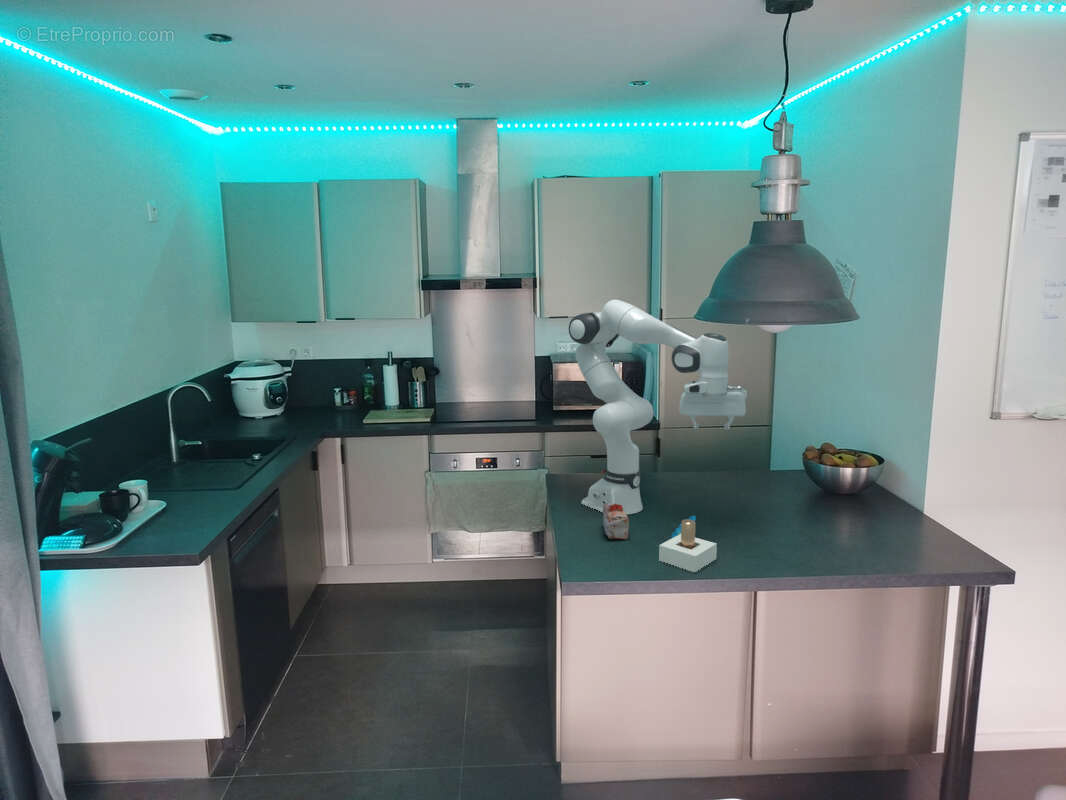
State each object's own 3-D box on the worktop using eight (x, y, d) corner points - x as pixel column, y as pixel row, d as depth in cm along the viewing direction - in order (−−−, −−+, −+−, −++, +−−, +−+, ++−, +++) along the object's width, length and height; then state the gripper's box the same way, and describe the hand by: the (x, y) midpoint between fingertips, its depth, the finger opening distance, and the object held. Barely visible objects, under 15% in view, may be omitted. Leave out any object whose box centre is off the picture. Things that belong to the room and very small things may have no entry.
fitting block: (658, 561, 210) (659, 545, 209) (680, 548, 218) (681, 533, 217) (694, 572, 202) (695, 556, 201) (716, 559, 210) (716, 543, 209)
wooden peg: (677, 560, 210) (678, 522, 208) (685, 556, 213) (686, 518, 211) (689, 564, 207) (690, 525, 205) (696, 560, 210) (698, 521, 208)
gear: (674, 525, 233) (696, 509, 228) (687, 539, 232) (709, 522, 227) (665, 542, 224) (687, 525, 218) (678, 556, 223) (701, 539, 218)
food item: (631, 541, 225) (631, 511, 223) (606, 542, 225) (606, 512, 223) (622, 525, 239) (622, 497, 237) (598, 526, 238) (598, 498, 236)
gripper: (745, 384, 224) (744, 427, 227) (679, 384, 227) (678, 426, 230) (748, 388, 218) (747, 432, 221) (680, 387, 221) (679, 431, 224)
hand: (711, 429), depth 225 cm, fingers open, 8 cm apart
